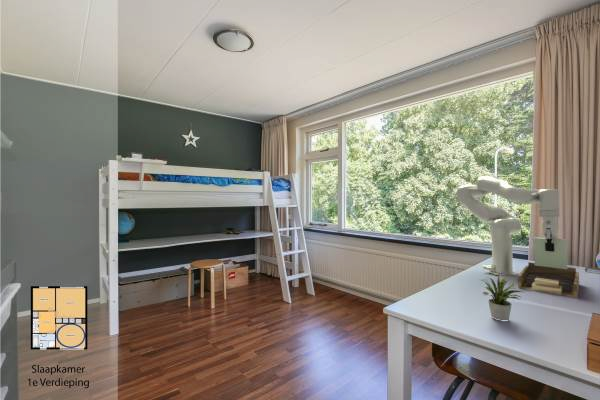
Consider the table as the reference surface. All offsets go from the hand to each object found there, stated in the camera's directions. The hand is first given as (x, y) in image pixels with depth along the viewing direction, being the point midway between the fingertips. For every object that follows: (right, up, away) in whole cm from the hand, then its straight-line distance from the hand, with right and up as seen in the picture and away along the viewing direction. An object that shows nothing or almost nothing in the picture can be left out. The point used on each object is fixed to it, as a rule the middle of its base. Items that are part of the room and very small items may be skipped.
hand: (550, 250), depth 138 cm
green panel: (0, -8, 0) cm, 8 cm away
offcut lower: (-11, -17, -10) cm, 23 cm away
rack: (-4, -18, -4) cm, 19 cm away
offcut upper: (-11, -14, -10) cm, 21 cm away
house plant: (-51, -20, -35) cm, 65 cm away
